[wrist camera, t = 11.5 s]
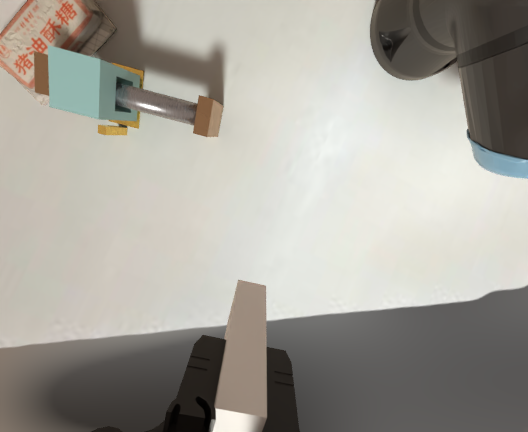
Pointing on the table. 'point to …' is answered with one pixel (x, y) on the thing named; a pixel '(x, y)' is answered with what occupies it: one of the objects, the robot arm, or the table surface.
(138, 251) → the table surface
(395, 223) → the table surface
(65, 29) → the packaged product
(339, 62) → the table surface
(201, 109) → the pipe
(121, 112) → the collar
